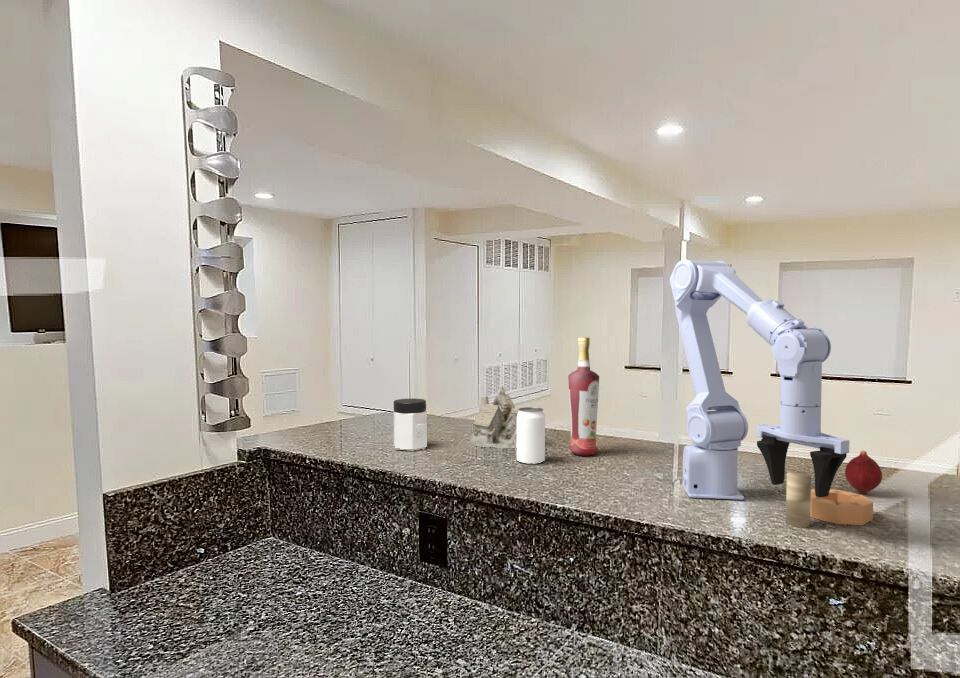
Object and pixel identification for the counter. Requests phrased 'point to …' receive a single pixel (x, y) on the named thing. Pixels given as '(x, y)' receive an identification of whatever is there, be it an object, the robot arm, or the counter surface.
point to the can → (530, 435)
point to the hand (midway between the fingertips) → (799, 489)
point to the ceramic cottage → (496, 422)
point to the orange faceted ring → (841, 508)
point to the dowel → (798, 499)
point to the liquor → (583, 403)
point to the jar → (410, 423)
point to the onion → (863, 473)
